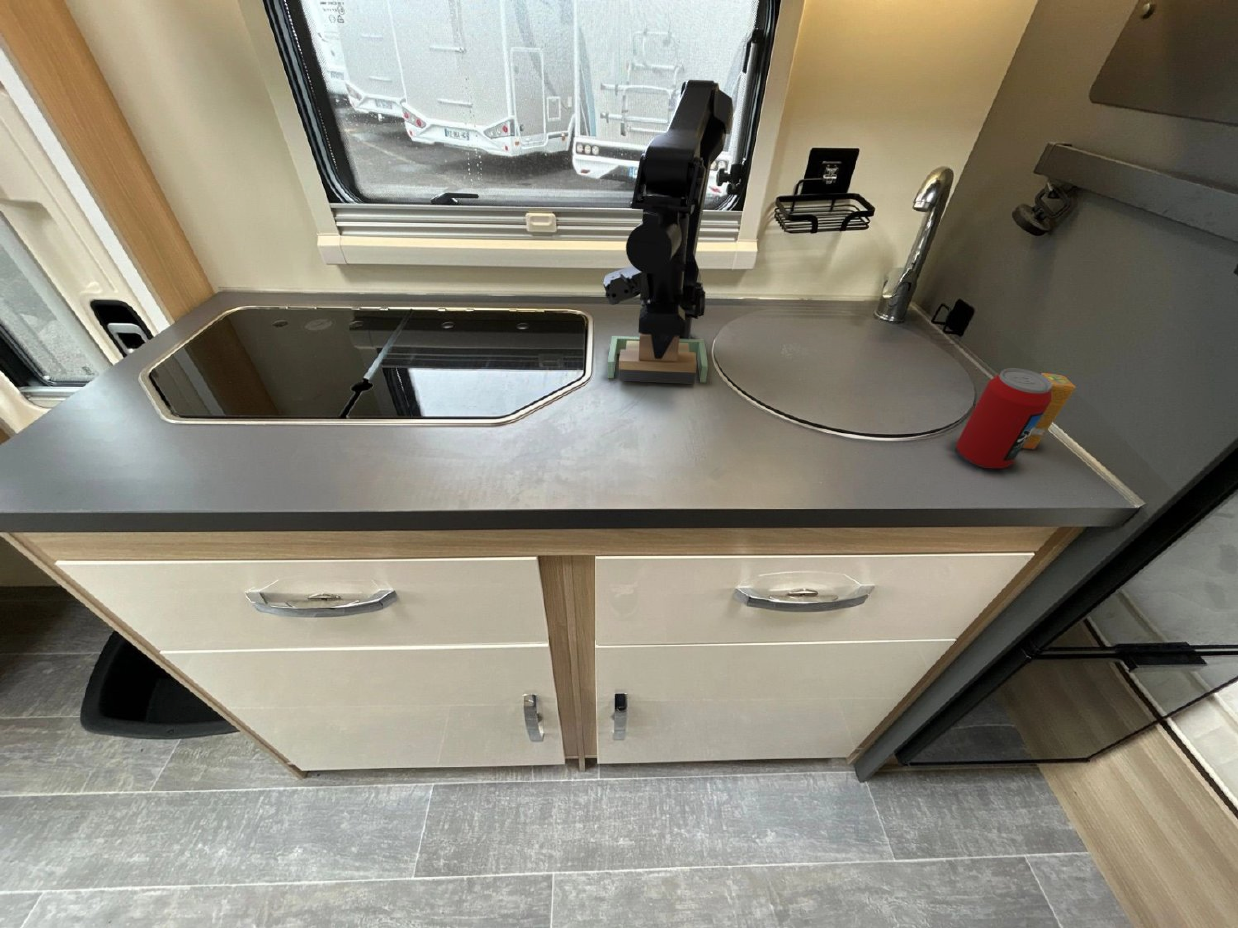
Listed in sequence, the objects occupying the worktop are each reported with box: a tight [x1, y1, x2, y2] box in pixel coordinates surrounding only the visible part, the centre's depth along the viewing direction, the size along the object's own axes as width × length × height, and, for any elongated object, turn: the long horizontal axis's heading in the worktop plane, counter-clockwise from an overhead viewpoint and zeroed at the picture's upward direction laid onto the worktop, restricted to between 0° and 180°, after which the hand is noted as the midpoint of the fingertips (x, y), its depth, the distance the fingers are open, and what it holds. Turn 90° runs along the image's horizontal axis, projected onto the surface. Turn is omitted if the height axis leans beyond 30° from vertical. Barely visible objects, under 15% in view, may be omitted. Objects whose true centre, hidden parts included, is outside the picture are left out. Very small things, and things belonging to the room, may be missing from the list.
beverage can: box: [956, 367, 1052, 469], centre depth 67 cm, size 7×7×12 cm
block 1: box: [626, 341, 639, 350], centre depth 87 cm, size 4×4×4 cm
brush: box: [618, 333, 698, 385], centre depth 82 cm, size 4×12×8 cm, turn 86°
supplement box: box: [1022, 372, 1077, 450], centre depth 70 cm, size 3×4×10 cm
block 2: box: [678, 343, 689, 352], centre depth 87 cm, size 4×4×4 cm
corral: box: [607, 335, 709, 383], centre depth 88 cm, size 10×16×3 cm, turn 86°
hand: (658, 353), depth 82 cm, fingers closed on brush, 3 cm apart
